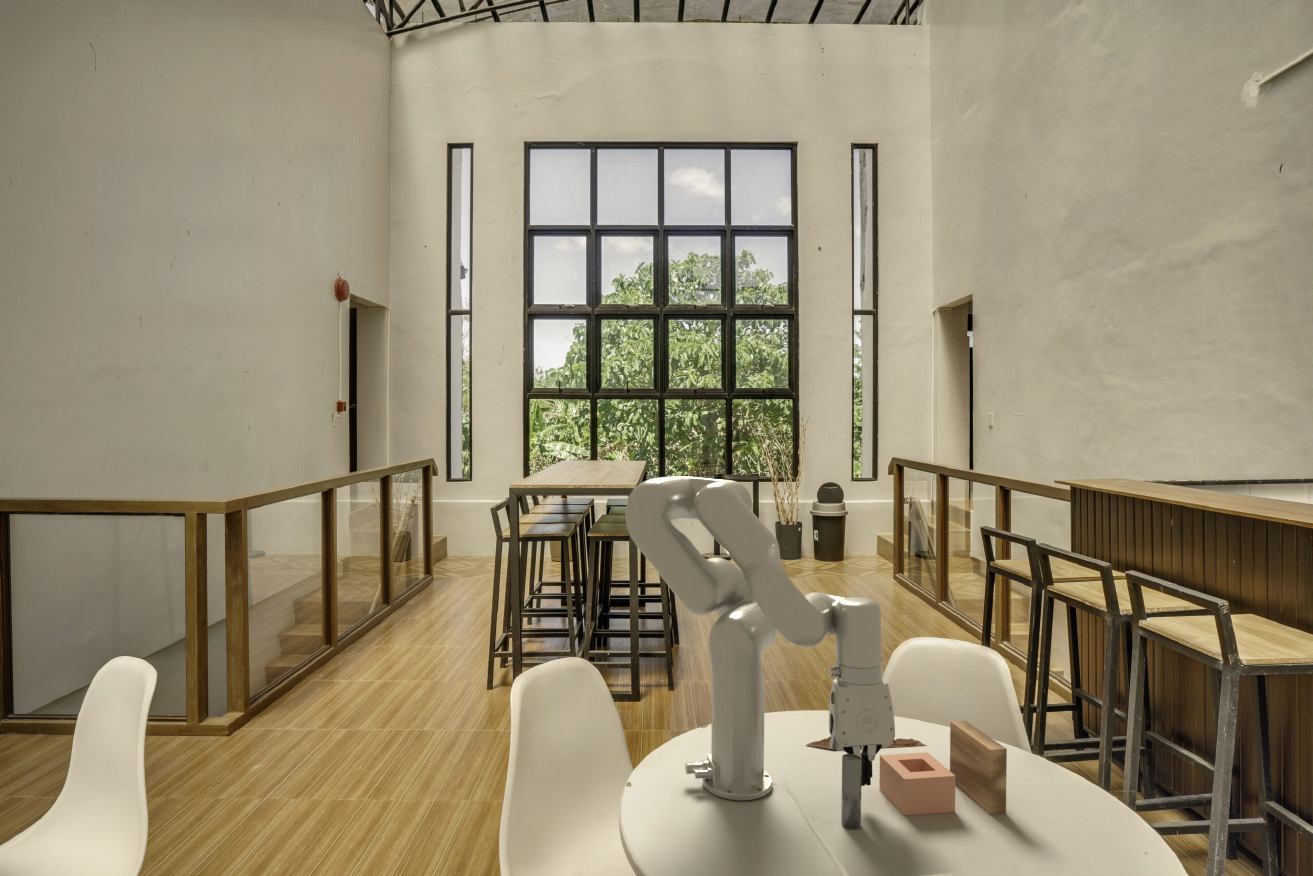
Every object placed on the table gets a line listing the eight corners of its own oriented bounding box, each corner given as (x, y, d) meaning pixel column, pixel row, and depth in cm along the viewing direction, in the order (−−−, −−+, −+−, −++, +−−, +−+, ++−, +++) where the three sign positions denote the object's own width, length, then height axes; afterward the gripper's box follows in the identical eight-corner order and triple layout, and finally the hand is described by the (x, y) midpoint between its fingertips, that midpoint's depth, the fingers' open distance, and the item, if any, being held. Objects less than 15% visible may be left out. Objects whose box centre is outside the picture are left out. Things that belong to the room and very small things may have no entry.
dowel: (845, 838, 115) (846, 762, 115) (838, 828, 118) (839, 754, 118) (863, 837, 116) (864, 761, 116) (856, 827, 119) (856, 753, 119)
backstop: (989, 816, 120) (990, 749, 120) (949, 782, 132) (950, 721, 132) (1005, 815, 121) (1006, 748, 121) (965, 781, 133) (965, 720, 133)
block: (904, 815, 120) (904, 779, 120) (879, 789, 129) (879, 755, 129) (955, 812, 121) (955, 776, 121) (927, 786, 130) (927, 752, 130)
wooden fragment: (930, 742, 152) (930, 737, 152) (942, 766, 142) (942, 760, 142) (804, 734, 156) (804, 729, 156) (807, 756, 146) (807, 750, 146)
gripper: (825, 683, 118) (828, 797, 118) (911, 676, 120) (914, 788, 120) (809, 669, 126) (811, 776, 125) (890, 663, 128) (893, 768, 128)
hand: (862, 782), depth 123 cm, fingers closed
